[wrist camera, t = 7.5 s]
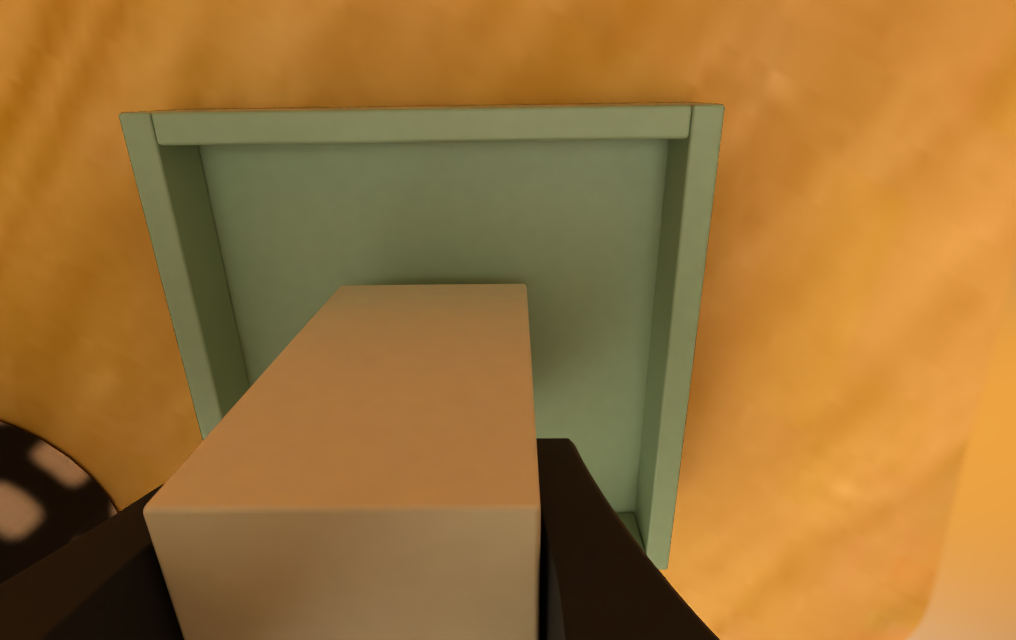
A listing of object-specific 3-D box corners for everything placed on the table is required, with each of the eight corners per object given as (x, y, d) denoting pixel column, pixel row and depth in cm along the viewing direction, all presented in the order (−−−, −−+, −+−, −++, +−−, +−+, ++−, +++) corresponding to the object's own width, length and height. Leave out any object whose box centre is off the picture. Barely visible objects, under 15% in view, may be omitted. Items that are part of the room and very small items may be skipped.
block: (360, 441, 14) (221, 762, 7) (340, 284, 12) (137, 508, 6) (526, 441, 14) (538, 763, 7) (526, 282, 12) (541, 507, 6)
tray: (266, 517, 16) (235, 571, 15) (176, 109, 12) (115, 112, 10) (650, 516, 16) (668, 570, 14) (693, 101, 12) (726, 104, 10)
